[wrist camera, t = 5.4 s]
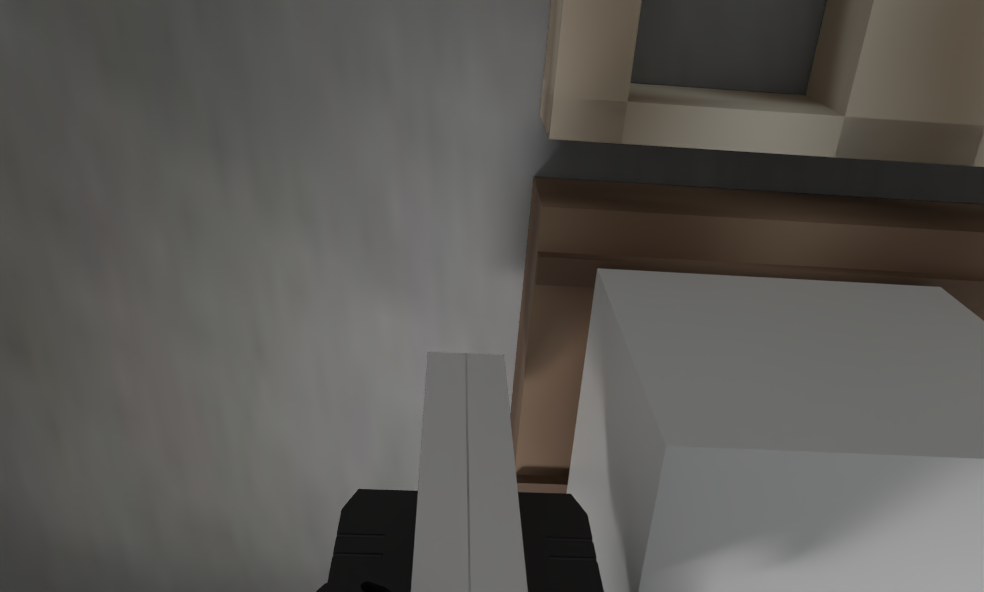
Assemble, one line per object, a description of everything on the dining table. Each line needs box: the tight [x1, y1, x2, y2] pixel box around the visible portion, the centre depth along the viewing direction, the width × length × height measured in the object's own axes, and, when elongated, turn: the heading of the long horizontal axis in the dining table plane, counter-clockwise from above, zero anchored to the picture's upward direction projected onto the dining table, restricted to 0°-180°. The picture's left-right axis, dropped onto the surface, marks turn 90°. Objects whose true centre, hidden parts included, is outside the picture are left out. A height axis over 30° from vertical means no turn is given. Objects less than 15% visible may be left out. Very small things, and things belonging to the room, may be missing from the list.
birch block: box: [540, 0, 984, 167], centre depth 16 cm, size 14×6×2 cm, turn 86°
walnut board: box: [510, 177, 984, 493], centre depth 19 cm, size 15×8×2 cm, turn 86°
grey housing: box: [566, 268, 984, 592], centre depth 15 cm, size 7×6×6 cm
